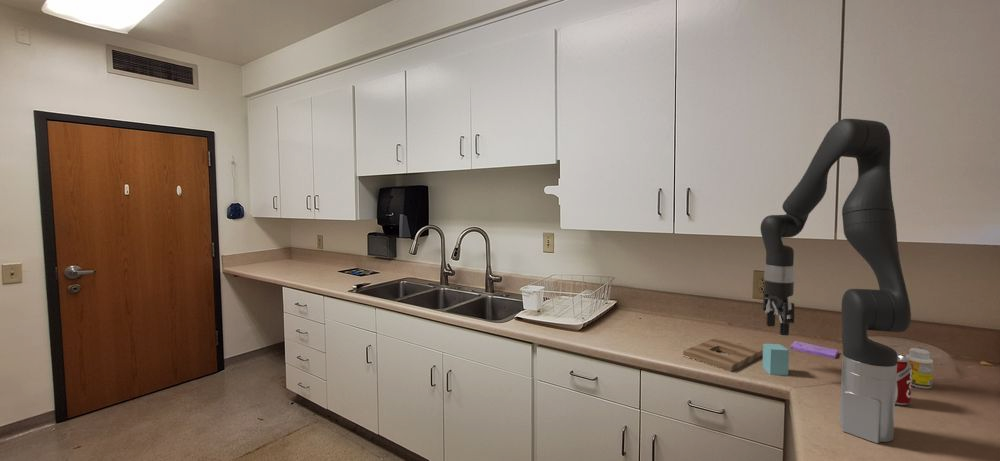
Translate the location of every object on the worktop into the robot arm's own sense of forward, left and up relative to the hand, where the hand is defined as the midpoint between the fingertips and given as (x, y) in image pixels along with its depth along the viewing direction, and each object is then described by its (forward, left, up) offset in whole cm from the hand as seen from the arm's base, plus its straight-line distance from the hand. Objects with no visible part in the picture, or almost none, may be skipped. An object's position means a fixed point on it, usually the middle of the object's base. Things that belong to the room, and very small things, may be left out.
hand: (777, 330), depth 125 cm
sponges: (+30, -1, -14) cm, 33 cm away
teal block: (0, 0, -13) cm, 13 cm away
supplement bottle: (+22, -28, -13) cm, 38 cm away
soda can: (+4, -26, -13) cm, 29 cm away
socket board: (0, +16, -13) cm, 21 cm away
